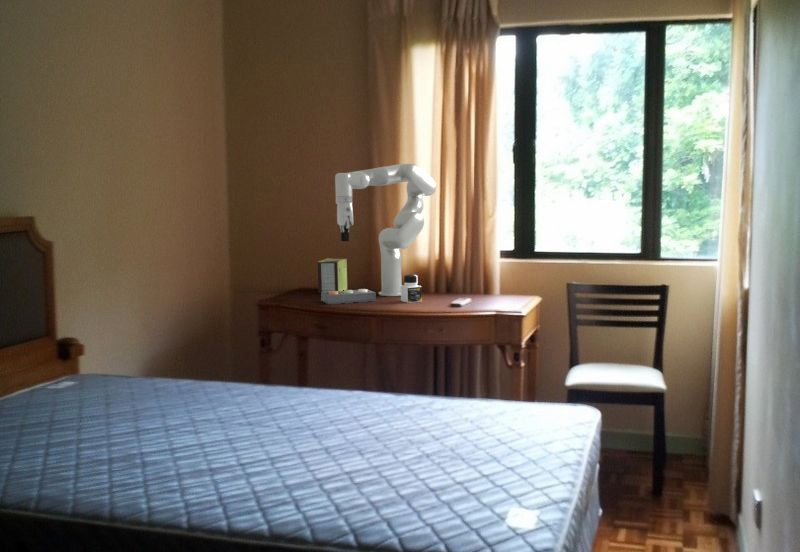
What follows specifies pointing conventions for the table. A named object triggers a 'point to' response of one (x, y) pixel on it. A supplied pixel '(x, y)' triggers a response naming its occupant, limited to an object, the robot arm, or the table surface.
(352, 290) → the sage button
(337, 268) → the protein box
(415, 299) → the medicine bottle
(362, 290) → the cream button
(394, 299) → the table surface
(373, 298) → the console
